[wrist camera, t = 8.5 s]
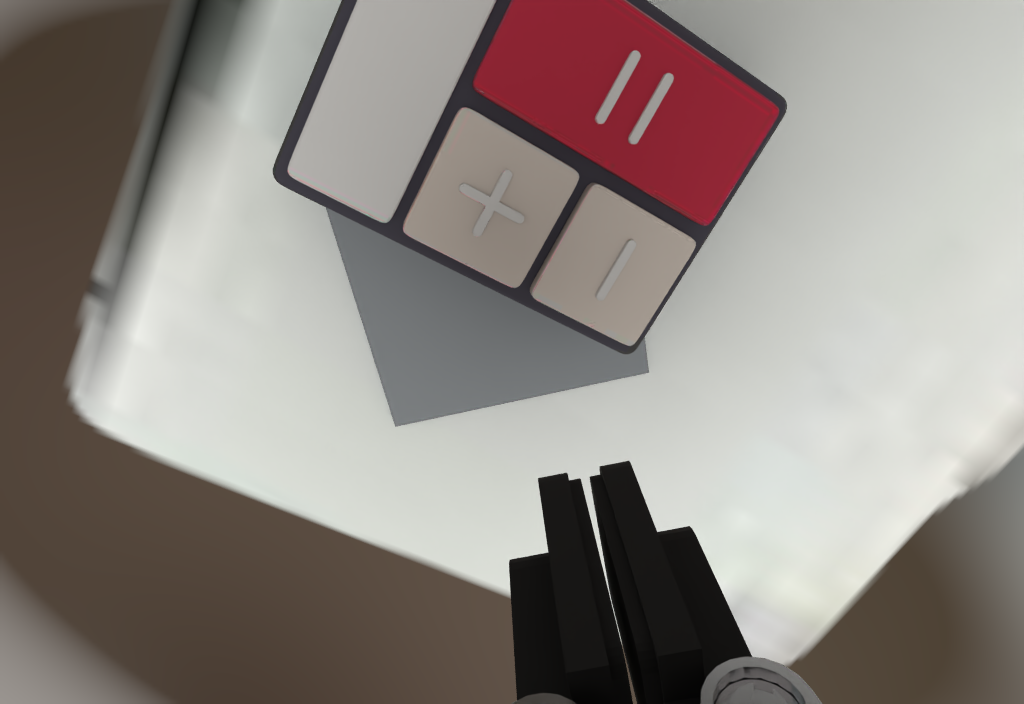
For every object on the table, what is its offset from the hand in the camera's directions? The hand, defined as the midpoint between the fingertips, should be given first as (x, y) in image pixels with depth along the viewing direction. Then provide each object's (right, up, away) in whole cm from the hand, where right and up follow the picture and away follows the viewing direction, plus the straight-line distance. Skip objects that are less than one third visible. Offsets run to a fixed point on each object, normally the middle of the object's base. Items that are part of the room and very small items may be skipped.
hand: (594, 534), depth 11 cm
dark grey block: (+6, +8, +14) cm, 17 cm away
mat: (-2, +6, +16) cm, 17 cm away
